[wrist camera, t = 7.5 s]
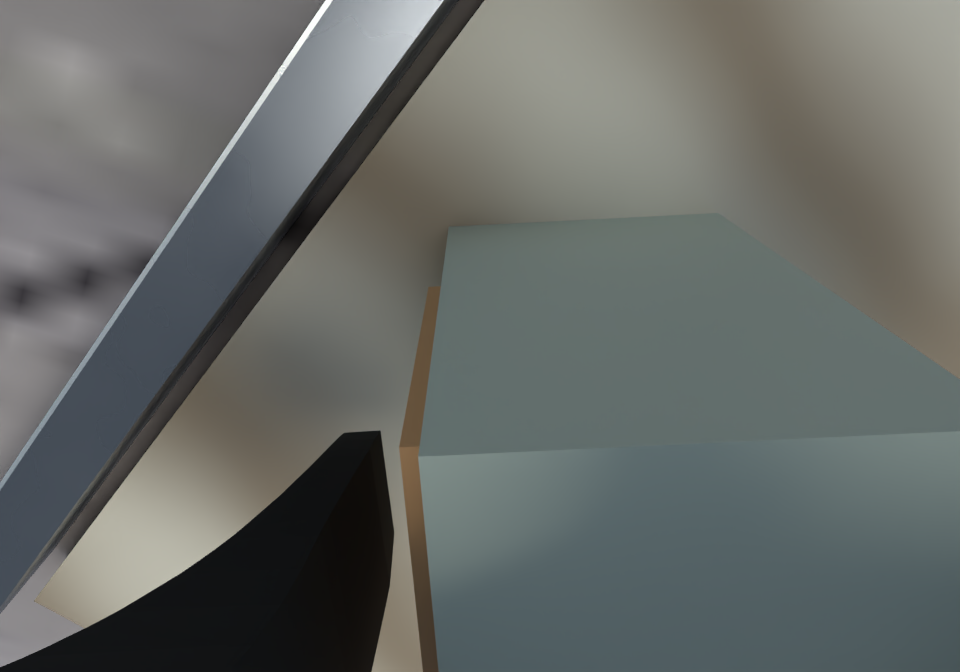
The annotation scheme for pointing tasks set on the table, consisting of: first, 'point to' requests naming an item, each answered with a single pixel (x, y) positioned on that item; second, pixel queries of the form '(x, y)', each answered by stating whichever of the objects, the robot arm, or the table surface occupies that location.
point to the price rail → (208, 263)
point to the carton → (672, 461)
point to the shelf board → (559, 197)
